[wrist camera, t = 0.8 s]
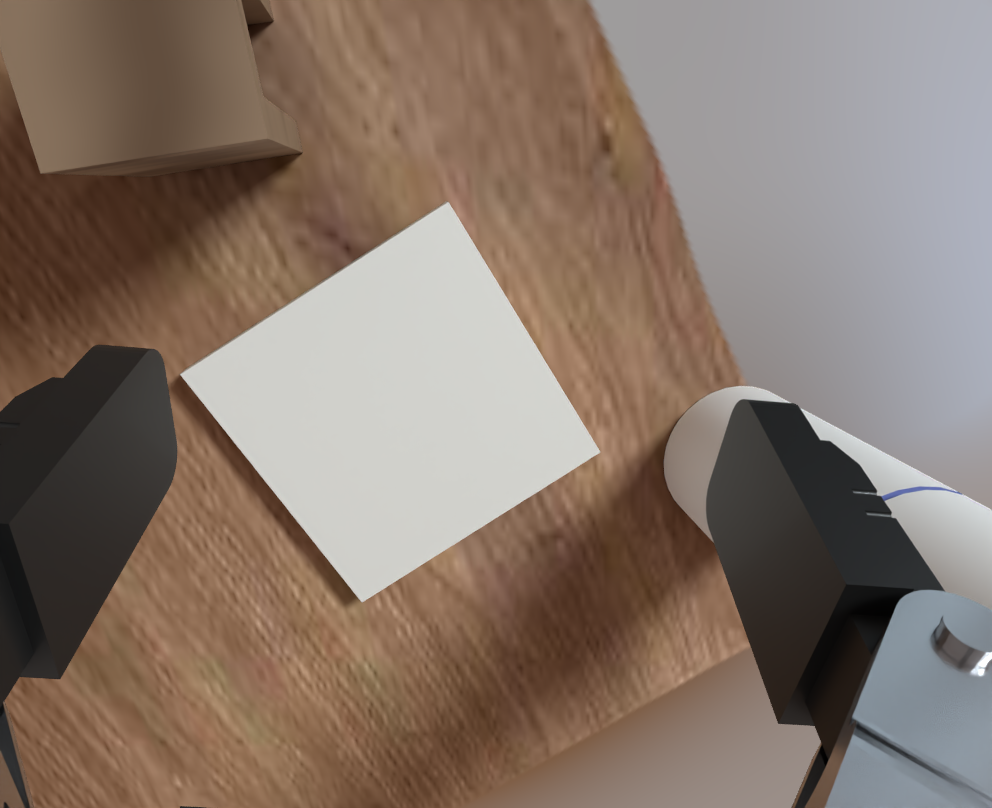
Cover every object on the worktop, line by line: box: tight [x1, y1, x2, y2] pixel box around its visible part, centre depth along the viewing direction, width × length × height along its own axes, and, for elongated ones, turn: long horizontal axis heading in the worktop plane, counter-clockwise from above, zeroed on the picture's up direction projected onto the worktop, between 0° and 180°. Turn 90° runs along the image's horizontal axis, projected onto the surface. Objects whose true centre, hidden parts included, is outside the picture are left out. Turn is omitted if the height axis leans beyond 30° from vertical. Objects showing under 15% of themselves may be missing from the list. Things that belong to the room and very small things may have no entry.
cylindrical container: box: [664, 386, 992, 610], centre depth 25 cm, size 7×7×25 cm
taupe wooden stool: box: [0, 0, 303, 177], centre depth 24 cm, size 6×6×10 cm
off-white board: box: [180, 201, 600, 602], centre depth 33 cm, size 13×13×1 cm
